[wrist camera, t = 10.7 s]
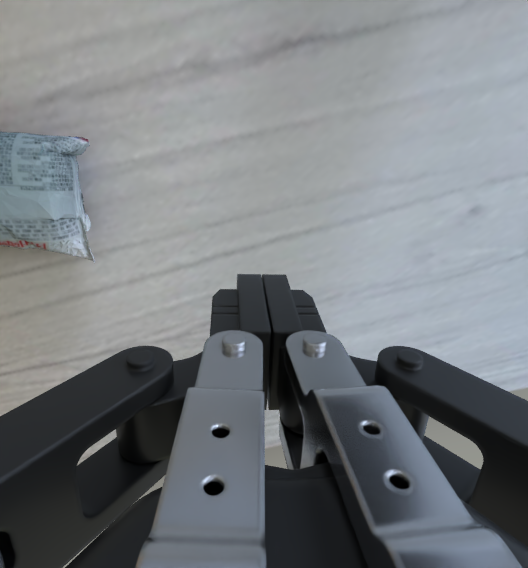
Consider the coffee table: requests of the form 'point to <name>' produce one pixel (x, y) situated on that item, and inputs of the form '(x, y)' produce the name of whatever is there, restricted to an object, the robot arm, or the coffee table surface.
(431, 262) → the coffee table surface
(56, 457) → the robot arm
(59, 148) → the packaged food
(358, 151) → the coffee table surface
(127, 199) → the coffee table surface
